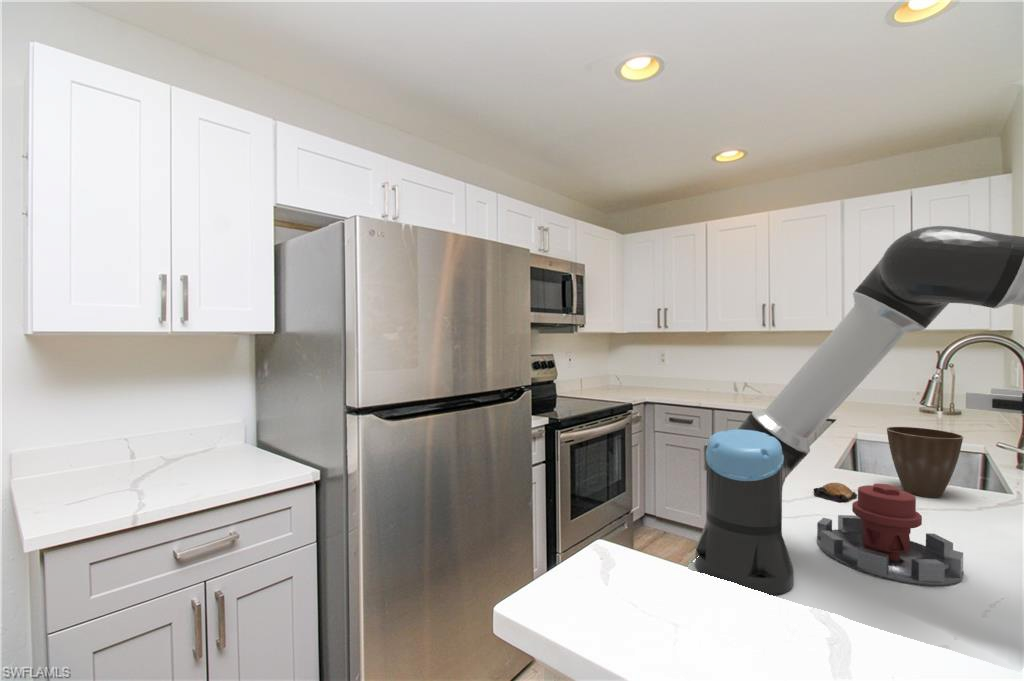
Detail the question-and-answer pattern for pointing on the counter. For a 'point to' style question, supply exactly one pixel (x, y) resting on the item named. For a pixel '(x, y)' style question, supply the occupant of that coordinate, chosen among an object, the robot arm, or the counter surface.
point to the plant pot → (924, 458)
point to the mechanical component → (886, 518)
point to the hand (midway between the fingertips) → (979, 397)
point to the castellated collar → (914, 567)
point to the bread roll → (835, 493)
